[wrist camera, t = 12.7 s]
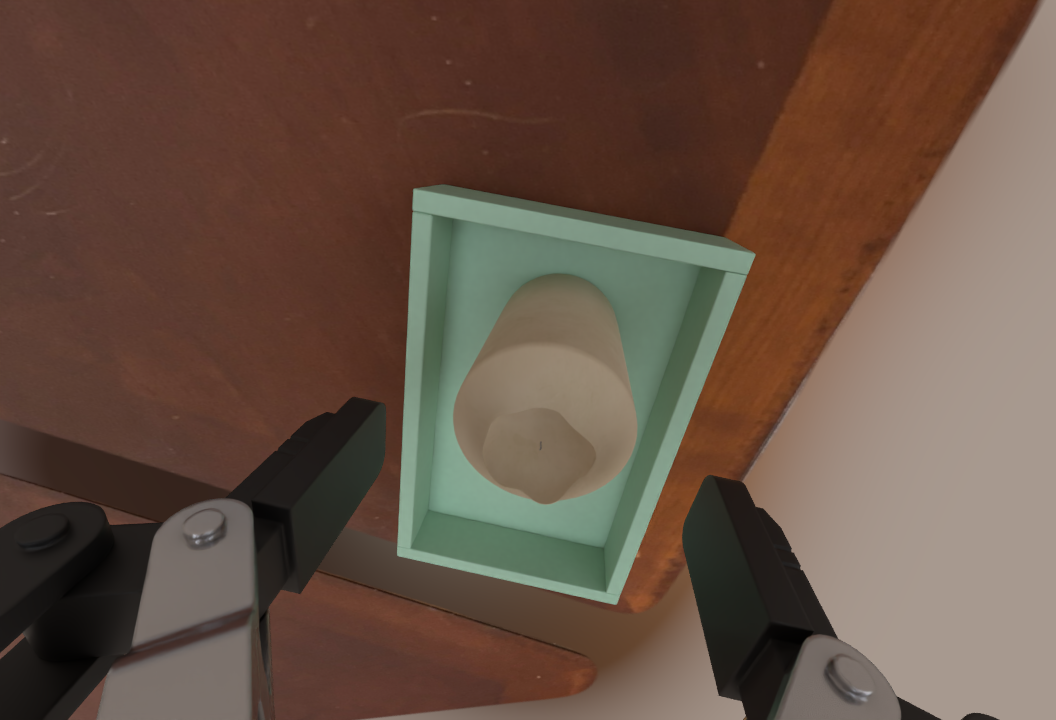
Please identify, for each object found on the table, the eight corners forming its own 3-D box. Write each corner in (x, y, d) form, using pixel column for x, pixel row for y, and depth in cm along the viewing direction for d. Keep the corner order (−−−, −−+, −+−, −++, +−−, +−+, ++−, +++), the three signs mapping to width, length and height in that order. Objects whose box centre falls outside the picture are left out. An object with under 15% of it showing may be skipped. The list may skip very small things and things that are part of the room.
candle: (613, 265, 19) (640, 359, 10) (620, 376, 21) (647, 536, 12) (492, 278, 20) (415, 376, 11) (511, 383, 22) (460, 538, 13)
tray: (442, 183, 19) (412, 188, 16) (726, 237, 18) (756, 253, 15) (418, 509, 27) (396, 556, 24) (612, 552, 27) (616, 605, 24)
